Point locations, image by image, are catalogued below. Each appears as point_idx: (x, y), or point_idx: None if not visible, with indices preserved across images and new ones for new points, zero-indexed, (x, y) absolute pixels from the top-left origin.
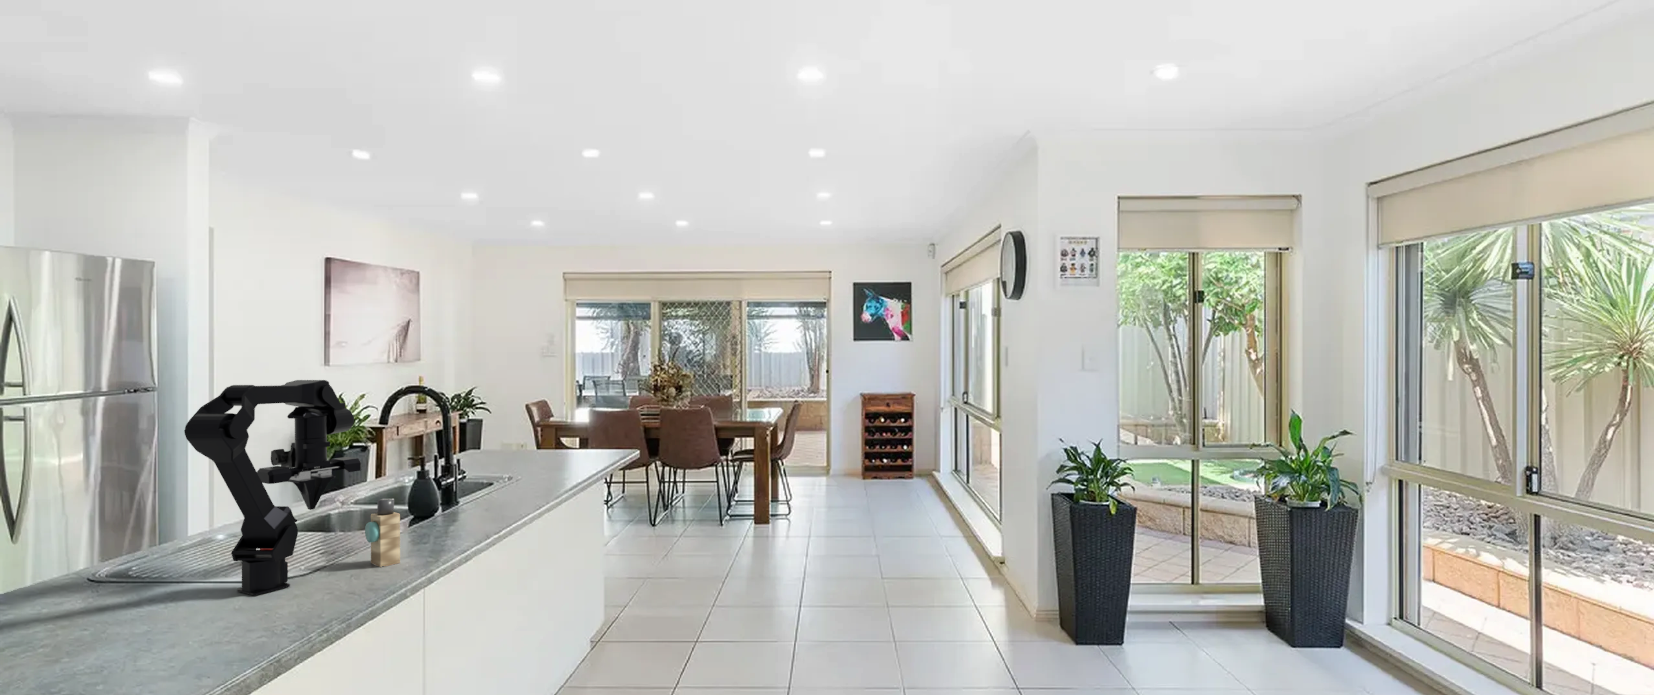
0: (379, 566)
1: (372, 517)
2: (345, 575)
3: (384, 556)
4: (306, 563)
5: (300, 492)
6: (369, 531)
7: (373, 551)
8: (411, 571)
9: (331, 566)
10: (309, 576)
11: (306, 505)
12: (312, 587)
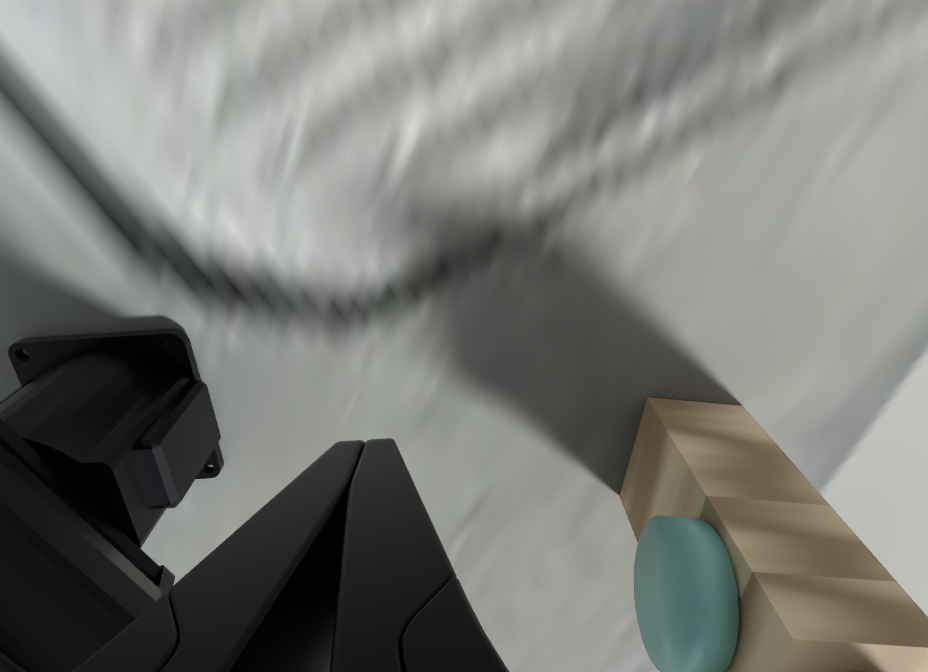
0: (622, 487)
1: (768, 639)
2: (460, 486)
3: None
4: (465, 50)
5: (107, 650)
6: (661, 604)
7: (662, 468)
8: (635, 634)
9: (510, 273)
10: (351, 366)
11: (308, 471)
12: None
